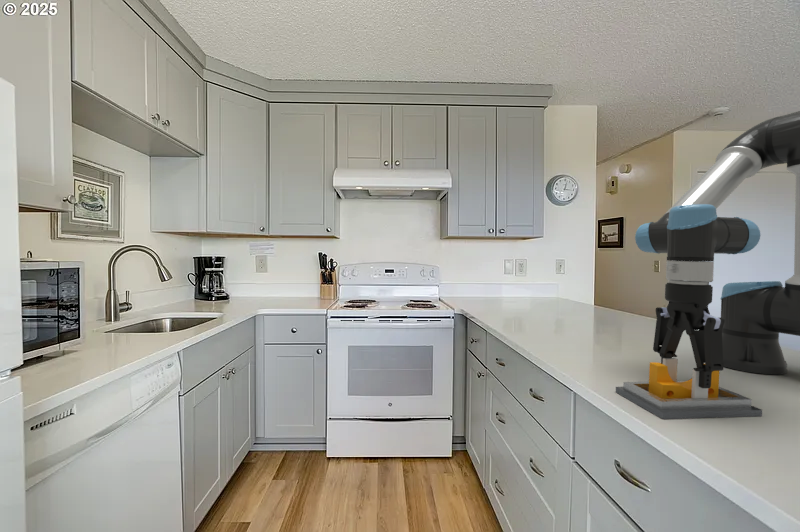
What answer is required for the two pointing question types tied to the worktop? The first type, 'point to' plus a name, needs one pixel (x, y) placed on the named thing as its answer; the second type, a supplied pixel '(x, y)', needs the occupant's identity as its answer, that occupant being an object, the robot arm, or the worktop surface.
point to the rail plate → (689, 403)
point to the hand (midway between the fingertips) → (683, 395)
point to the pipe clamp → (675, 384)
